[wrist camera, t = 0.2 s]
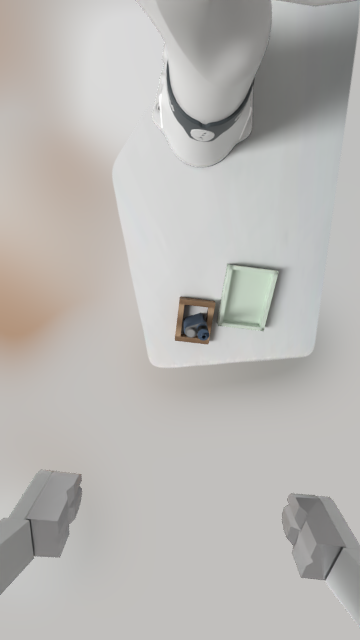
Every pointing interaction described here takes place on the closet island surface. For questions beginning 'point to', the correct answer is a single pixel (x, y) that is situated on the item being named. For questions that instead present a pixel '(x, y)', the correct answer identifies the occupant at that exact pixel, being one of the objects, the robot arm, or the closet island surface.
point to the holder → (180, 317)
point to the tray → (246, 297)
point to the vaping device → (196, 327)
